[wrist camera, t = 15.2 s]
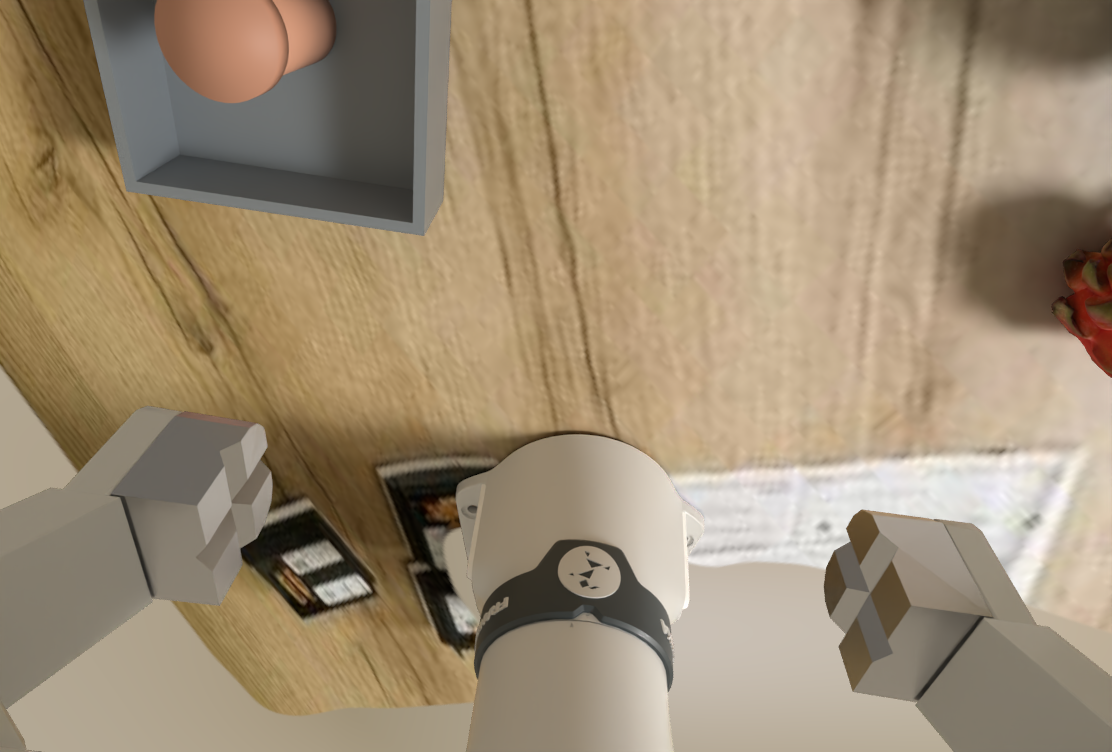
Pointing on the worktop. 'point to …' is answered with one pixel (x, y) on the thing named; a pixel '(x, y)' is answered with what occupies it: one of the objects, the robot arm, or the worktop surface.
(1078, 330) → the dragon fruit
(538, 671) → the robot arm
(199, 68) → the butternut squash
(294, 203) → the slate tray
